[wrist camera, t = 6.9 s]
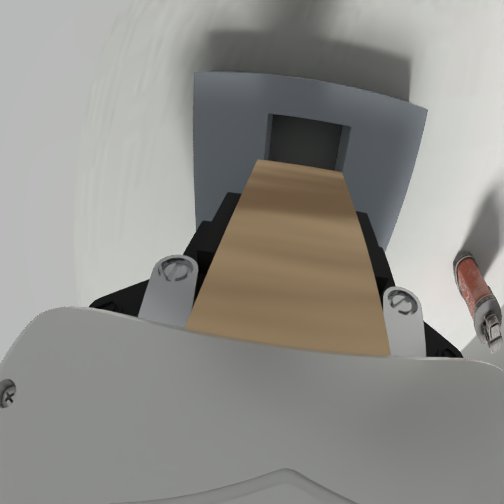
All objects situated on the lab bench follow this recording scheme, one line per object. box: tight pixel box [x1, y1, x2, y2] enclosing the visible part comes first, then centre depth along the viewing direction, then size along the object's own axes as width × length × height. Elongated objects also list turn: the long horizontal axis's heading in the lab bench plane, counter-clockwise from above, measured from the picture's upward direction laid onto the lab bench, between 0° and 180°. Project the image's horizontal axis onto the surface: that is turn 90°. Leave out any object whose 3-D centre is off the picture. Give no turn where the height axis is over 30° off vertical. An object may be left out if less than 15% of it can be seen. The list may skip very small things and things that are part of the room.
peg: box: [185, 159, 391, 355], centre depth 10 cm, size 4×4×10 cm
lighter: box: [453, 252, 502, 353], centre depth 22 cm, size 8×3×10 cm, turn 41°
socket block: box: [193, 71, 428, 253], centre depth 18 cm, size 18×17×16 cm
